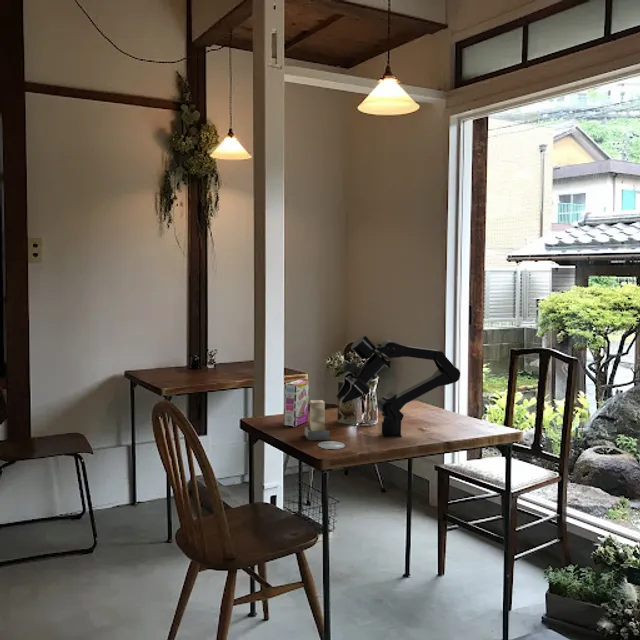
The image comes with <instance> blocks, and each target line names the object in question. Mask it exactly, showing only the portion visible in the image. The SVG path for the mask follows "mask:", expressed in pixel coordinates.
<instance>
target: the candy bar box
mask: <svg viewBox="0 0 640 640" xmlns="http://www.w3.org/2000/svg"><path fill="white" fill-rule="evenodd" d="M284 387H285V388H284V389H285V390H284V418H283V419H284V421H283V426H284V425H286V426H285V427H288V426H293V427H292V428H296V427H299V426H301V425H303V423H304V424H306V423H308V422H309V395H310V394H309V393H310V392H309V387H310V381H309V380H306V379H305V380H303V379H297V380H294V381H289V382H286V383H285V384H284ZM305 422H306V423H305ZM300 424H301V425H300ZM298 425H299V426H298Z"/></svg>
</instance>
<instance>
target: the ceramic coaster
mask: <svg viewBox="0 0 640 640" xmlns="http://www.w3.org/2000/svg"><path fill="white" fill-rule="evenodd" d="M318 446H319V447H321V448H320V449H322V448H325V449H324V450H328V449H337V450H342V449H344V448H345V447H346V445H345V443H343V442H340V441H336V440H335V441H334V440H332V441H329V440H325V441H321V442H319V443H317V447H318ZM319 447H318V448H319ZM341 448H342V449H341Z"/></svg>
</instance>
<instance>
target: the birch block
mask: <svg viewBox="0 0 640 640" xmlns="http://www.w3.org/2000/svg"><path fill="white" fill-rule="evenodd" d="M325 408H326V404H325V401H324V400H322V399H313V400H312V399H311V400H309V427H310V431H324V427H325V421H326V420H325V417H326V416H325V414H326V413H325V411H326V410H325Z"/></svg>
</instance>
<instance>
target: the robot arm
mask: <svg viewBox="0 0 640 640" xmlns="http://www.w3.org/2000/svg"><path fill="white" fill-rule="evenodd" d="M350 349H351V350H352V351H353V352H354V354H355V355H357V356H358V357H359V359H361V360H366V361H365V362H364V363H363V364H362V363H360V364H359V365H358V364H357V362H355V361H351V362H349V361H348V360H346V359H345V360H343V362H342V365H341V367H340V368H341V370H343V371H345V373H344V374H343V377H342V379H343V380H342V381H344V383H343V385H342V387H341V389H340V391H339V392H338V391H337V395H336V398H337V399H338V398H340V397H342V396H344V395H345V397H344V398H343V399H342V402H343V403H346V402H348V401H351V400H353V399H356V398H358V397H361V396H364V395H363V393H364V394H365V396H367V395H368V394H369V393H370V390H371V388H370V387H369V385H368V383H369V382H370V381H371V380H372V379H373V380H374V379H375V378H376V375H377V374H378V373H379V372H380V371H381V370H382V369H383V368H384V367H387V368H388V369H391V360H390V359H394V358H406V357H407V358H415V359H423V360H431V361H433V362H434V365H435V368H437V370H436V371H434V373H432V375H431V376H429V377H428V378H426V379H424V380H422V381H420V382H417V383H416V384H415V385H413V386H411V387H409V388H407V389H404V390H402V391H401V392H400V393H395V392H393V391H389V392H388V393H386V394H384V395H381V398H380V399H378V400H377V404H376V408H377V409H378V412H380V413H381V415H382V421H381V428H380V431H381V432H380V434H381V435H382V437H384V438H402V437H403V436H402V435H403V434H402V421H403V419H404V414H403V413H402V409H403V408H404V406H405V405H406V404H408V403H410V402H412V401H414V400H416V399H418V398H419V397H421V396H424V395H425V394H428V393H429V392H431V391H433V390H435V389H436V388H438V387H444V386H448V385H449V386H450V385H452V384H454V383H457V382H458V381H459V380H460V377H461V371H460V369H459V368H458V367H457V366H456V367H455V365H454V364H453V363H452V362H451V361H450V360H449V358H448V357H447V356H446V355H445V353H444V352H443V350H439V349H437V348H436V349H432V348H425V347H416V346H409V345H404V344H401V343H398V342H394V341H392V340H389V339H388V340H387V339H386V340H383V341H381V343H378V344H376V343H375V344H373V343H372V342H371V341H370V339H369V337H368V336H366V335H363V336H362V337H360V338H359V339H357V340H355V341H354V343H352V345H351V347H350ZM378 353H380V354H378ZM384 356H385V357H387V358H390V359H386V358H385V357H384Z"/></svg>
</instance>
